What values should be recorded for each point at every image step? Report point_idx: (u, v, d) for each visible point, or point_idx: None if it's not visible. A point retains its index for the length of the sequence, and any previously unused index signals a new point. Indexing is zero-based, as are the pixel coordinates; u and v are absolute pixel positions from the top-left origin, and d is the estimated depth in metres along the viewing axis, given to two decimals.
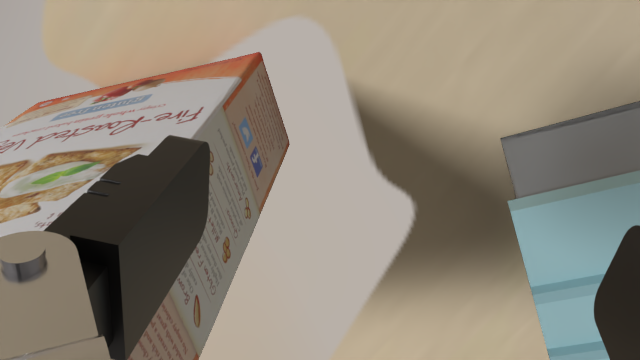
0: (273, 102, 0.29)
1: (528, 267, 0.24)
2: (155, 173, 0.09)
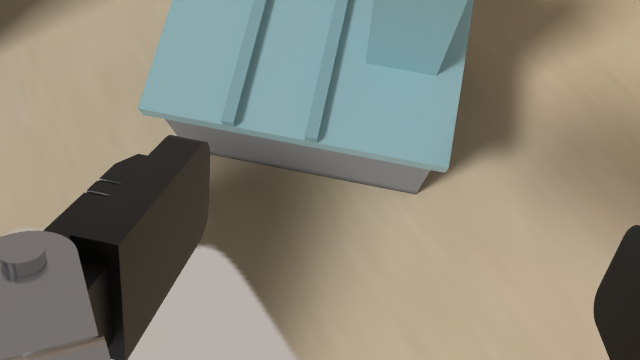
0: None
1: (200, 117, 0.26)
2: (155, 173, 0.09)
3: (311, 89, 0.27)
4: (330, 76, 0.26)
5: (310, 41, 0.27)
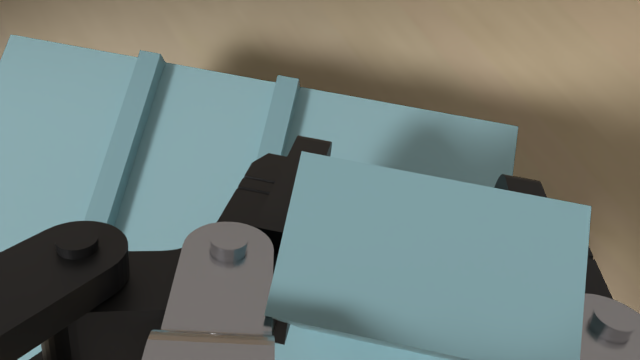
0: None
1: None
2: None
3: None
4: None
5: None
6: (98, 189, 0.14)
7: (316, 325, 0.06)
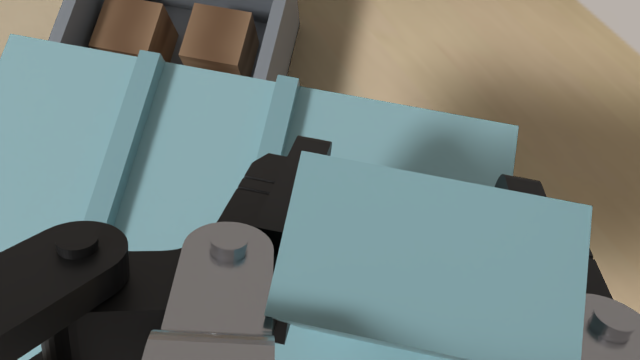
0: None
1: None
2: None
3: None
4: None
5: None
6: (98, 189, 0.14)
7: (316, 325, 0.06)
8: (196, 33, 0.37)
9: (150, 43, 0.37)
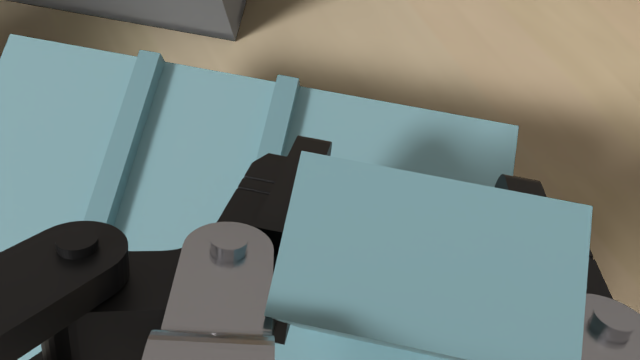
0: None
1: None
2: None
3: None
4: None
5: None
6: (97, 189, 0.14)
7: (316, 326, 0.06)
8: None
9: None
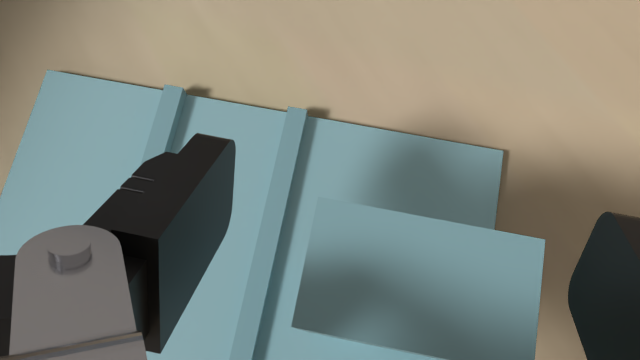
0: None
1: None
2: (187, 170, 0.09)
3: None
4: None
5: (218, 291, 0.16)
6: None
7: (331, 334, 0.08)
8: None
9: None
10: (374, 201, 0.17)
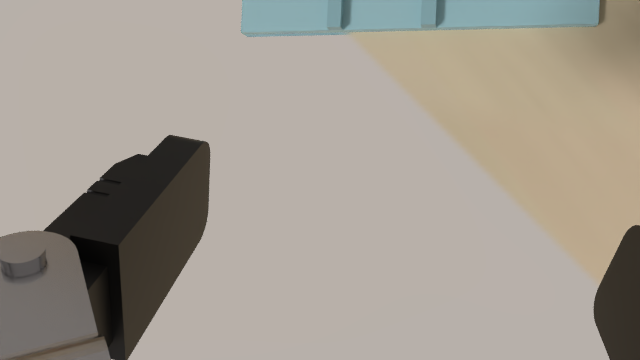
0: None
1: (304, 27, 0.25)
2: (155, 173, 0.09)
3: None
4: None
5: None
6: None
7: None
8: None
9: None
10: None
